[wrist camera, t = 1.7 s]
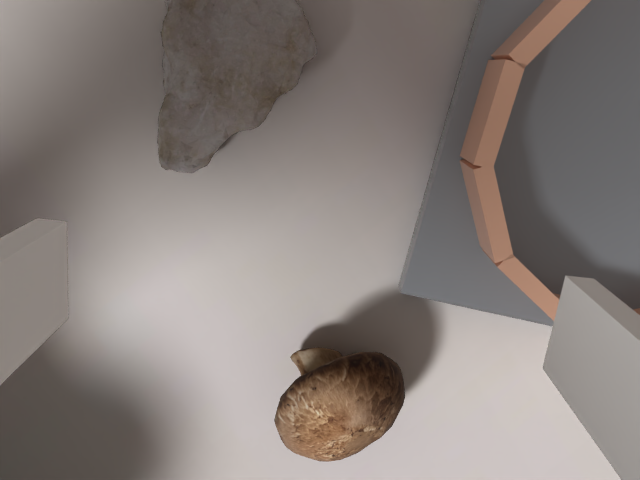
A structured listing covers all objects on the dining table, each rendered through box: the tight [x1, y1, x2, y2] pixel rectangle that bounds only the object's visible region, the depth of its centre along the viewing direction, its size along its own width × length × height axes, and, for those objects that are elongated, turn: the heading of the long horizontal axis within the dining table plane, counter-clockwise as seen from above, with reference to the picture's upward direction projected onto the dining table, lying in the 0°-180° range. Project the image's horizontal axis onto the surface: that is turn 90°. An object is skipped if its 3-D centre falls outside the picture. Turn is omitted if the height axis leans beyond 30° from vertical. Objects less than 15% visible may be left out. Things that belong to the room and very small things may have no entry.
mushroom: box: [274, 347, 405, 461], centre depth 35 cm, size 8×8×6 cm
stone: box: [157, 0, 317, 173], centre depth 29 cm, size 10×8×6 cm
